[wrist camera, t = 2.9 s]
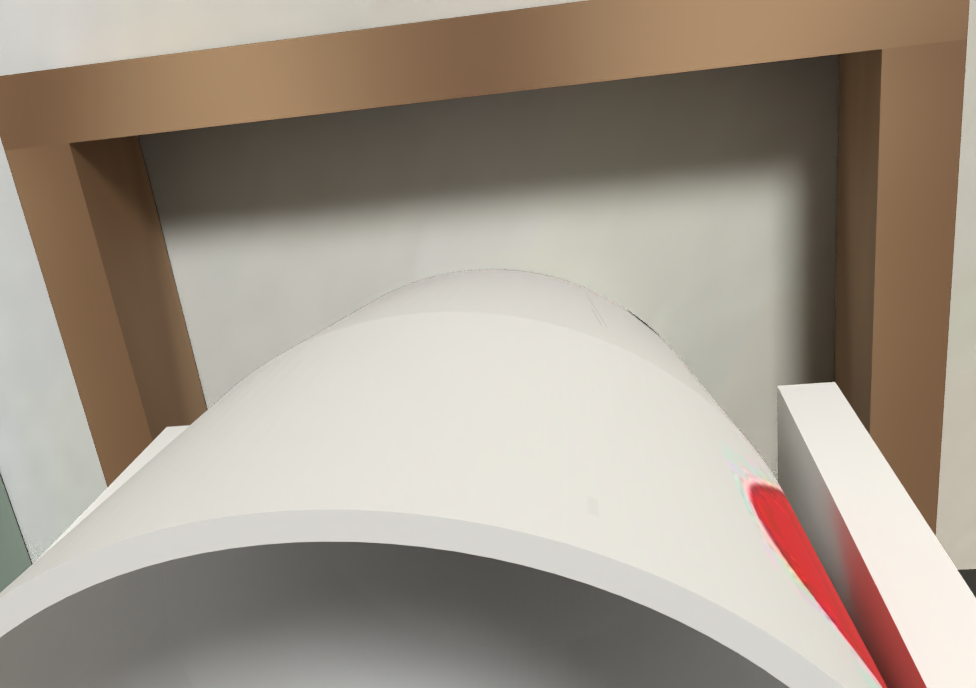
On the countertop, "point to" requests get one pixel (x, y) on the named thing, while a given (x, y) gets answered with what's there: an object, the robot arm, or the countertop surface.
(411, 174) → the countertop surface
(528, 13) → the frame
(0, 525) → the tray
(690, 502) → the cup
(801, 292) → the countertop surface
